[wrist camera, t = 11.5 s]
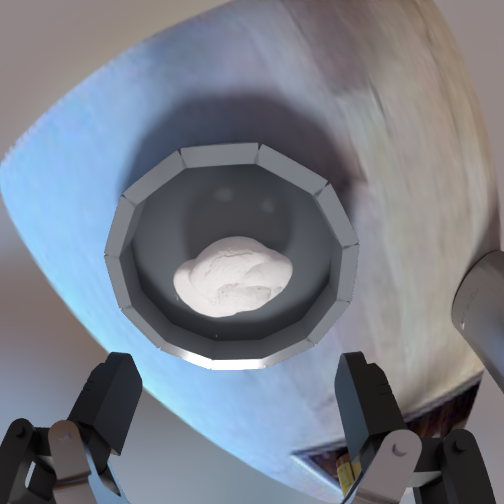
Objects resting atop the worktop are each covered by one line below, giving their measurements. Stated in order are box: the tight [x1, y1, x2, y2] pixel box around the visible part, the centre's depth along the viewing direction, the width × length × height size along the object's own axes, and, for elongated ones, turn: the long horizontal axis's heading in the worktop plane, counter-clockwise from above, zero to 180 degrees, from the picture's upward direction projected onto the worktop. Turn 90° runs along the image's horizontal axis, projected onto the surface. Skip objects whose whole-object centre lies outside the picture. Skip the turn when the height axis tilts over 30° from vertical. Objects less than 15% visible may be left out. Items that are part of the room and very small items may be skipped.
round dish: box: [104, 142, 360, 370], centre depth 17 cm, size 15×15×3 cm
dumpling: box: [173, 236, 293, 337], centre depth 16 cm, size 7×5×4 cm
